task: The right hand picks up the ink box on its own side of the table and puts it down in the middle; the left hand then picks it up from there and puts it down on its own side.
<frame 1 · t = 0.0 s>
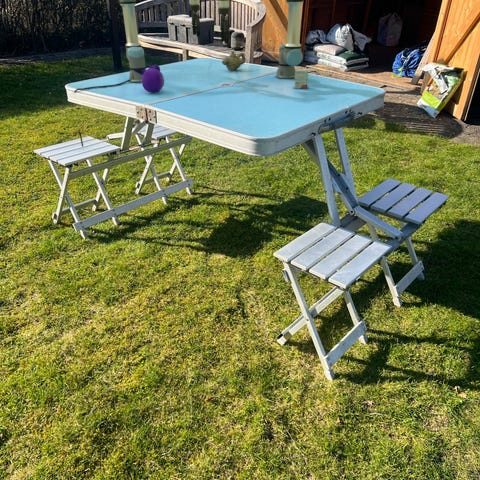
left hand: (196, 35, 349), 28 cm above the table, tool pointing down, fingers open, 13 cm apart
right hand: (224, 42, 309), 28 cm above the table, tool pointing down, fingers open, 13 cm apart
toy: (151, 91, 308), on the table
ink box: (300, 88, 309), on the table
teapot: (233, 70, 371), on the table
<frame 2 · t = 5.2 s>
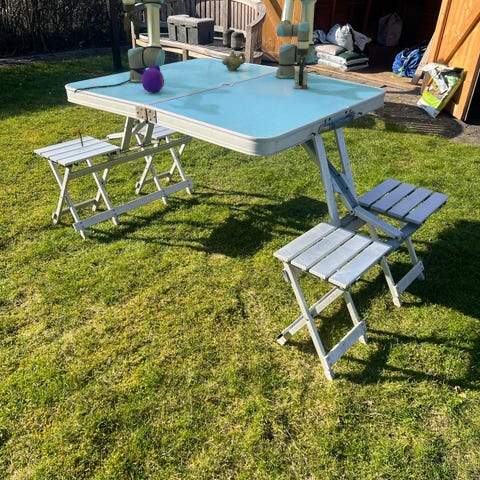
left hand: (133, 40, 290), 32 cm above the table, tool pointing down, fingers open, 13 cm apart
right hand: (300, 84, 308), 2 cm above the table, tool pointing down, fingers closed on ink box, 5 cm apart
ink box: (300, 87, 309), on the table, touching right hand
everything else where it was.
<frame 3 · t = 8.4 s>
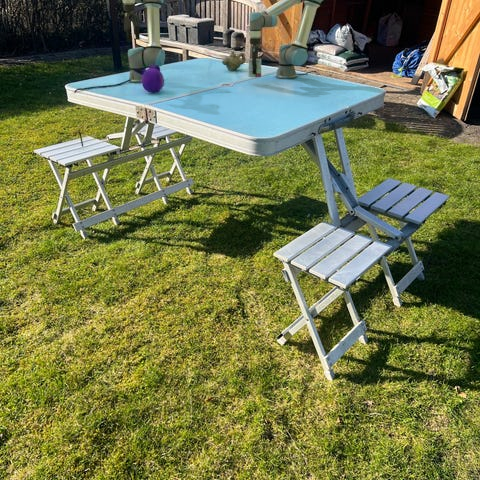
left hand: (133, 40, 290), 32 cm above the table, tool pointing down, fingers open, 13 cm apart
right hand: (255, 73, 317), 8 cm above the table, tool pointing down, fingers closed on ink box, 5 cm apart
ink box: (255, 76, 318), point 6 cm above the table, touching right hand
everything else where it was.
when the right hand's fingers open (3 cm above the table, at t = 11.7 s): ink box drops 1 cm, on the table.
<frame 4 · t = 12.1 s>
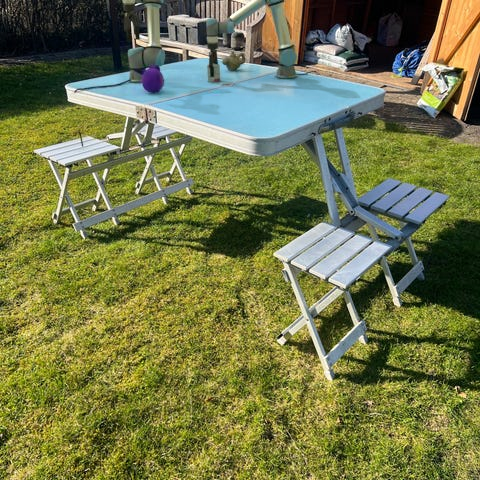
left hand: (133, 40, 290), 32 cm above the table, tool pointing down, fingers open, 13 cm apart
right hand: (214, 75, 331), 4 cm above the table, tool pointing down, fingers open, 10 cm apart
ink box: (214, 81, 333), on the table
everything else where it was.
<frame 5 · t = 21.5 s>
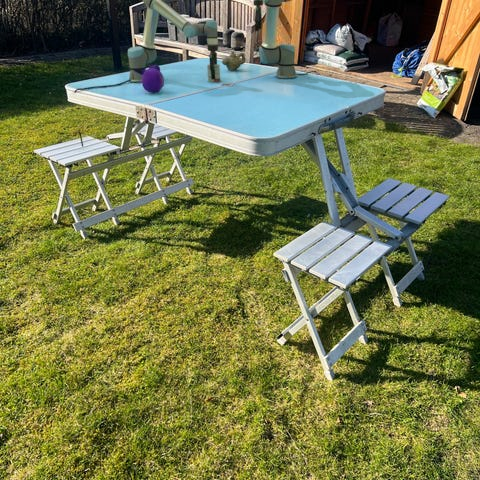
left hand: (214, 78, 332), 2 cm above the table, tool pointing down, fingers closed on ink box, 5 cm apart
right hand: (258, 30, 357), 30 cm above the table, tool pointing down, fingers open, 13 cm apart
ink box: (214, 81, 333), on the table, touching left hand
everything else where it was.
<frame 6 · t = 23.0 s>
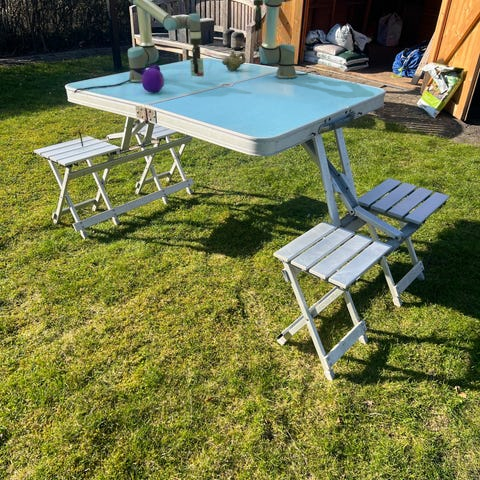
left hand: (197, 72, 329), 7 cm above the table, tool pointing down, fingers closed on ink box, 5 cm apart
right hand: (258, 30, 357), 30 cm above the table, tool pointing down, fingers open, 13 cm apart
ink box: (197, 75, 330), point 5 cm above the table, touching left hand
everything else where it was.
when the left hand's fingers open (3 cm above the table, at t = 24.9 s): ink box drops 1 cm, on the table.
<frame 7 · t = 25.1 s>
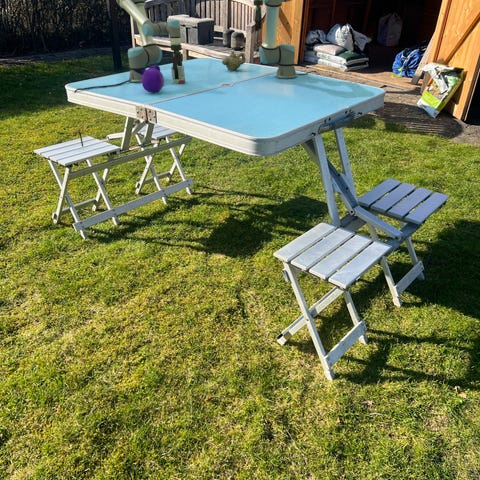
left hand: (178, 77, 328), 4 cm above the table, tool pointing down, fingers open, 8 cm apart
right hand: (258, 30, 357), 30 cm above the table, tool pointing down, fingers open, 13 cm apart
ink box: (179, 83, 330), on the table
everything else where it was.
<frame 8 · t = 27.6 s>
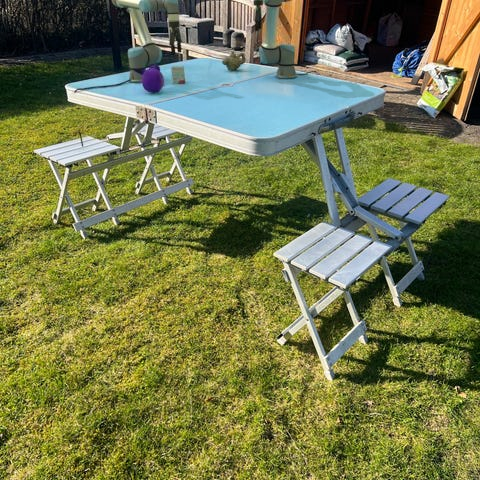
left hand: (176, 53, 320), 20 cm above the table, tool pointing down, fingers open, 13 cm apart
right hand: (258, 30, 357), 30 cm above the table, tool pointing down, fingers open, 13 cm apart
nothing on the table moved.
at the end: ink box inside the target area (0.0 cm from its centre), on the table; ink box tilted 0°; the two hands never held the ink box at the same time; the left hand is holding nothing; the right hand is holding nothing; ink box at rest at the end (0.0 cm/s) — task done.
